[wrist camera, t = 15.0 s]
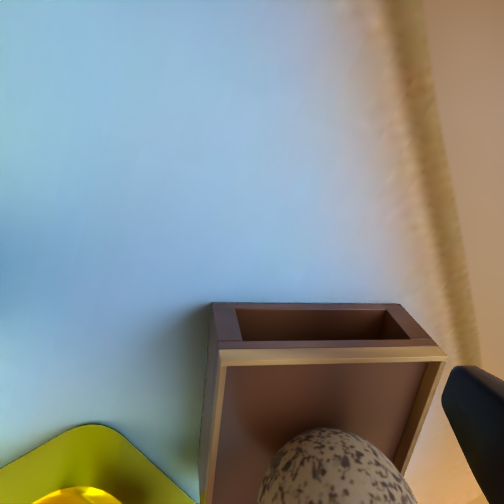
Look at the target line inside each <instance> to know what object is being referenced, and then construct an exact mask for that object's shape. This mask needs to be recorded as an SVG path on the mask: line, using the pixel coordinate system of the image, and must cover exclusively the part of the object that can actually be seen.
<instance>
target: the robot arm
mask: <svg viewBox="0 0 504 504" xmlns="http://www.w3.org/2000/svg"><path fill="white" fill-rule="evenodd" d="M441 401H442V407H443V409H444V412H445V414H446V416H447V418H448V420H449V422H450V425H451V427H452V429H453V431H454V433H455V436H456V438H457V440H458V442H459V444H460V447H461V449H462V451H463V453H464V455H465V458H466V460H467V462H468V464H469V466H470V468H471V470H472V472H473V475H474V477H475V479H476V481H477V482H478V484H479V486H480V488H481V490H482V492H483V493H484V495H485V497H486V499H487V501H488V502H489V504H504V381H503V380H501V379H499V378H497V377H495V376H494V375H492V374H490V373H488V372H486V371H484V370H482V369H480V368H478V367H476V366H472V365H467V366H456V367H454V368H453V369H452V370H451V372H450V375H449V378H448V380H447V383H446V386H445V388H444V391H443V393H442V398H441Z"/></svg>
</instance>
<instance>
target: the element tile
mask: <svg viewBox="0 0 504 504" xmlns="http://www.w3.org/2000/svg"><path fill="white" fill-rule="evenodd" d="M0 504H196V503H195V502H194V501H193V500H192V499H191V498H190V497H189V496H188V495H187V494H185V493H184V492H183V491H182V490H181V489H180V488H179V487H178V486H177V485H176V484H175V483H173V482H172V481H171V480H170V479H169V478H168V477H167V476H166V475H165V474H164V473H163V472H161V471H160V470H159V469H158V468H157V467H156V466H155V465H154V464H153V463H152V462H151V461H149V460H148V459H147V458H146V457H145V456H144V455H143V454H142V453H141V452H140V451H139V450H137V449H136V448H135V447H134V446H133V445H132V444H131V443H130V442H129V441H128V440H127V439H125V438H124V437H123V436H122V435H121V434H120V433H118V432H117V431H115V430H114V429H111V428H108V427H106V426H103V425H93V424H89V425H84V426H79V427H75V428H73V429H70V430H68V431H66V432H64V433H62V434H61V435H59V436H57V437H55V438H54V439H52V440H50V441H48V442H47V443H45V444H43V445H41V446H39V447H38V448H36V449H34V450H32V451H31V452H29V453H27V454H25V455H24V456H22V457H20V458H18V459H17V460H15V461H13V462H11V463H10V464H8V465H6V466H4V467H3V468H1V469H0Z"/></svg>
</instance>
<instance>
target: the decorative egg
mask: <svg viewBox="0 0 504 504" xmlns="http://www.w3.org/2000/svg"><path fill="white" fill-rule="evenodd" d="M257 504H417V501H416V499H415V497H414V495H413V493H412V491H411V489H410V487H409V486H408V484H407V482H406V481H405V479H404V478H403V476H402V475H401V474H400V472H399V471H398V470H397V468H396V467H395V466H394V464H393V463H392V462H391V461H390V460H389V459H388V458H387V457H386V456H385V455H384V454H383V453H382V452H381V451H380V450H379V449H378V448H376V447H375V446H374V445H373V444H371V443H370V442H368V441H367V440H365V439H364V438H362V437H360V436H358V435H356V434H354V433H352V432H349V431H345V430H341V429H336V428H316V429H312V430H308V431H305V432H303V433H300V434H298V435H296V436H295V437H293V438H292V439H290V440H289V441H288V442H286V443H285V444H284V445H283V446H282V447H281V448H280V449H279V450H278V451H277V453H276V454H275V455H274V457H273V458H272V460H271V461H270V463H269V465H268V467H267V469H266V471H265V473H264V476H263V478H262V481H261V485H260V488H259V492H258V499H257Z"/></svg>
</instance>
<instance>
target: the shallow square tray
mask: <svg viewBox="0 0 504 504" xmlns="http://www.w3.org/2000/svg"><path fill="white" fill-rule="evenodd" d="M447 359H448V356H447V354H446V353H445V352H444V351H443V350H442V349H441V348H440V347H439V346H438V345H437V344H436V343H435V342H434V341H433V340H432V338H431V337H430V336H429V335H428V334H427V333H426V332H425V331H424V330H423V329H422V327H421V326H420V325H419V324H418V323H417V322H416V321H415V320H414V319H413V318H412V317H411V315H410V314H409V313H408V312H407V311H406V310H405V309H404V308H403V307H402V306H401V305H400V304H322V303H212V304H211V313H210V325H209V337H208V348H207V360H206V372H205V383H204V395H203V407H202V419H201V430H200V442H199V454H198V474H199V490H200V504H257V499H258V492H259V488H260V485H261V481H262V478H263V476H264V473H265V471H266V469H267V467H268V465H269V463H270V461H271V460H272V458H273V457H274V455H275V454H276V453H277V451H278V450H279V449H280V448H281V447H282V446H283V445H284V444H285V443H286V442H288V441H289V440H290V439H292V438H293V437H295V436H296V435H298V434H300V433H303V432H305V431H308V430H312V429H316V428H336V429H341V430H345V431H349V432H352V433H354V434H356V435H358V436H360V437H362V438H364V439H365V440H367V441H368V442H370V443H371V444H373V445H374V446H375V447H376V448H378V449H379V450H380V451H381V452H382V453H383V454H384V455H385V456H386V457H387V458H388V459H389V460H390V461H391V462H392V463H393V464H394V466H395V467H396V468H397V470H398V471H399V472H400V474H401V475H402V476H403V477H404V474H405V471H406V469H407V466H408V463H409V461H410V458H411V455H412V453H413V450H414V447H415V445H416V442H417V439H418V436H419V434H420V431H421V428H422V426H423V423H424V420H425V418H426V415H427V412H428V410H429V407H430V404H431V402H432V399H433V396H434V394H435V391H436V388H437V385H438V383H439V380H440V377H441V375H442V372H443V369H444V367H445V364H446V361H447Z"/></svg>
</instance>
